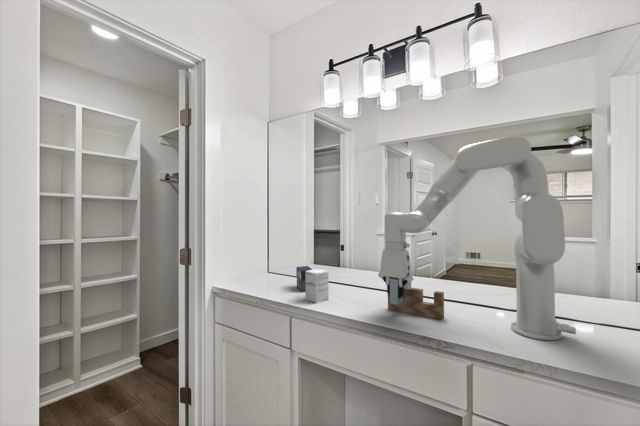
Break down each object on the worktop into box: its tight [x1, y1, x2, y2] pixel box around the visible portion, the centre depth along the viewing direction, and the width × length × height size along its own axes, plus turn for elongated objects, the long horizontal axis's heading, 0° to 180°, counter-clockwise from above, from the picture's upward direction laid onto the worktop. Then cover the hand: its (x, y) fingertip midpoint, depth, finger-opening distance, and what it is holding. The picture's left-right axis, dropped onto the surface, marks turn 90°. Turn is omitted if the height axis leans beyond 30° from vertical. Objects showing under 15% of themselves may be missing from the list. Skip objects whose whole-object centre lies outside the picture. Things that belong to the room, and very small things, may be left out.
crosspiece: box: [390, 277, 412, 305], centre depth 111 cm, size 3×14×9 cm, turn 143°
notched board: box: [387, 286, 445, 321], centre depth 109 cm, size 20×2×9 cm, turn 53°
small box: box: [295, 265, 314, 293], centre depth 145 cm, size 11×6×10 cm, turn 18°
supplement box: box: [305, 268, 329, 304], centre depth 127 cm, size 7×7×13 cm
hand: (395, 295), depth 107 cm, fingers closed on crosspiece, 3 cm apart
